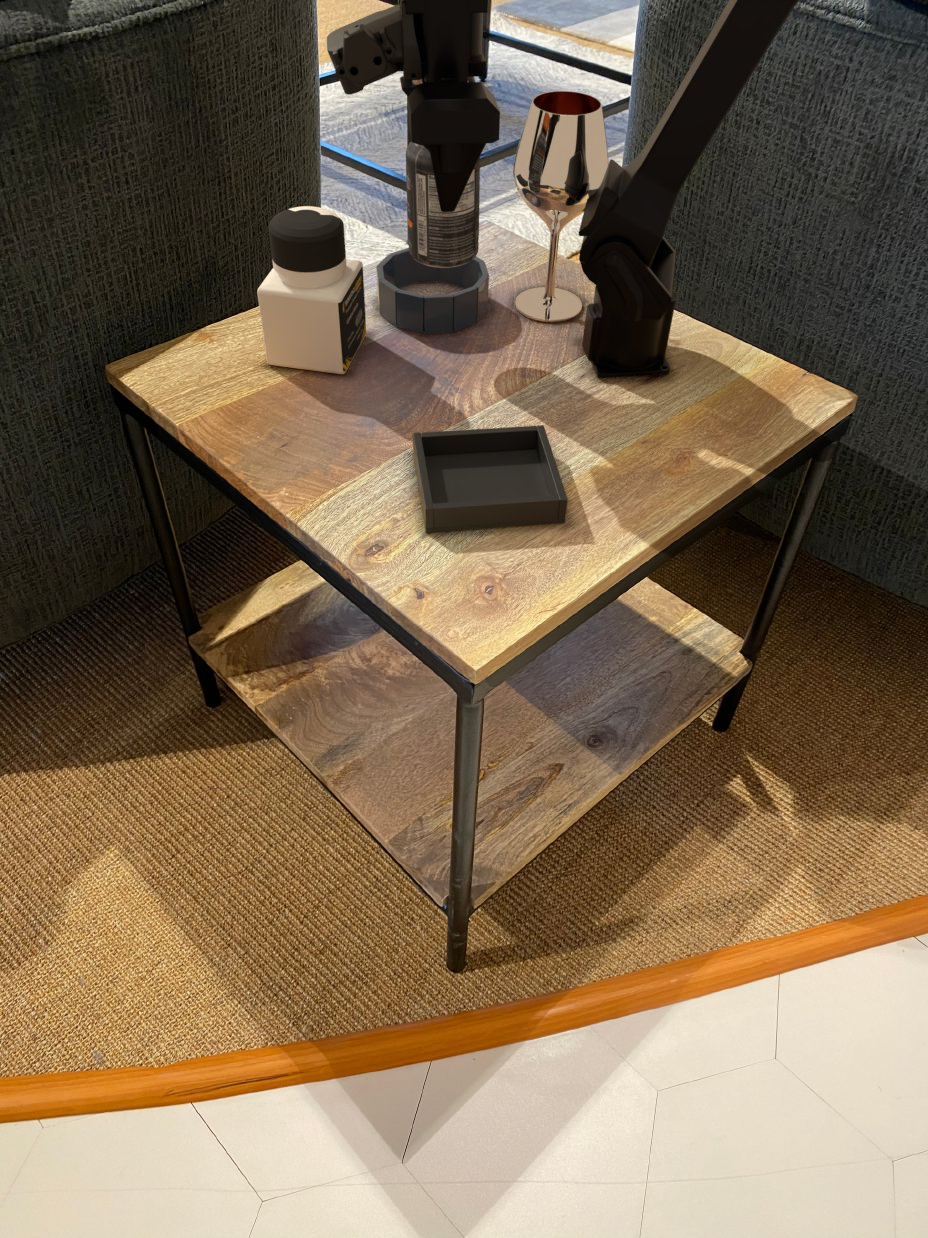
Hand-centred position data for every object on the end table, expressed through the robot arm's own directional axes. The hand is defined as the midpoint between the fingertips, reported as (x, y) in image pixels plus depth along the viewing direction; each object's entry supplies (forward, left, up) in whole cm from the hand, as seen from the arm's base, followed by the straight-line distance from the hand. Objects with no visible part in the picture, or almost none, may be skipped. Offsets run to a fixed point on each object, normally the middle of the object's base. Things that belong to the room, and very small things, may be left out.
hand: (443, 194), depth 80 cm
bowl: (0, -6, -13) cm, 14 cm away
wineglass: (-11, -5, -13) cm, 18 cm away
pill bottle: (0, 0, -5) cm, 5 cm away
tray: (-1, +22, -13) cm, 26 cm away
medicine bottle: (+11, +1, -13) cm, 17 cm away
